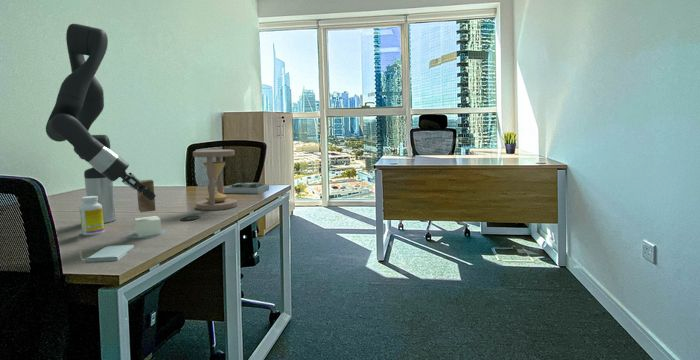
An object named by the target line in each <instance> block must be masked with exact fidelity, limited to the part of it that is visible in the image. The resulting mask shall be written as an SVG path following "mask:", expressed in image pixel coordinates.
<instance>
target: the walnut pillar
mask: <svg viewBox="0 0 700 360" xmlns="http://www.w3.org/2000/svg"><path fill="white" fill-rule="evenodd" d="M139 180H140V179H139ZM140 181H141V182H142V184H143V185H144V186H146V188H147V189H148V190H149V191H151V192H152V193H153V194H155V183H154V180H153V179H143V180H140ZM141 187H142V186H141V185H139V187H138V188H137V189H140V188H141ZM136 191H137V190H136ZM137 203H138V204H137V206H138V211H139V212H140V213H147V212H154V211H156V197H155V198H154V199H153V200H150V199H148V198H147V197H146V196H144V195H143V194H141V193H139V191H137Z"/></svg>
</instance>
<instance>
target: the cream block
mask: <svg viewBox="0 0 700 360" xmlns="http://www.w3.org/2000/svg"><path fill="white" fill-rule="evenodd" d="M134 225H135V232H136V234H137V235H138V236H139V237H143V236H150V235H157V234H161V235H162V230H161V229H162V219H161V218H160V216H158V215H152V216H143V217H136V218H135V217H134Z"/></svg>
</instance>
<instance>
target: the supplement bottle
mask: <svg viewBox="0 0 700 360" xmlns="http://www.w3.org/2000/svg"><path fill="white" fill-rule="evenodd" d="M81 202H82V204H80V206H79V215H80V225H81V234H82V235H83V236H94V235H99V234H103V233H105V226H104V225H105V223H104V222H103V212H102V205H101V204H99V203H98V196H86V195H85V196H83V197H81Z"/></svg>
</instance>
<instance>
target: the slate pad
mask: <svg viewBox="0 0 700 360" xmlns="http://www.w3.org/2000/svg"><path fill="white" fill-rule="evenodd" d="M161 230H162V234H166V233H168V232H170V231H172V229H170V228H169V229H167V228H166V229H164V228H163V229H162V228H161ZM162 234H157V235H150V236H143V237H139V236H138V235H137V234H136V231H134V232H130V233H129V234H126V235H123V236H122V238H128V239H153V238H155V237H159V236H160V235H162Z"/></svg>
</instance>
